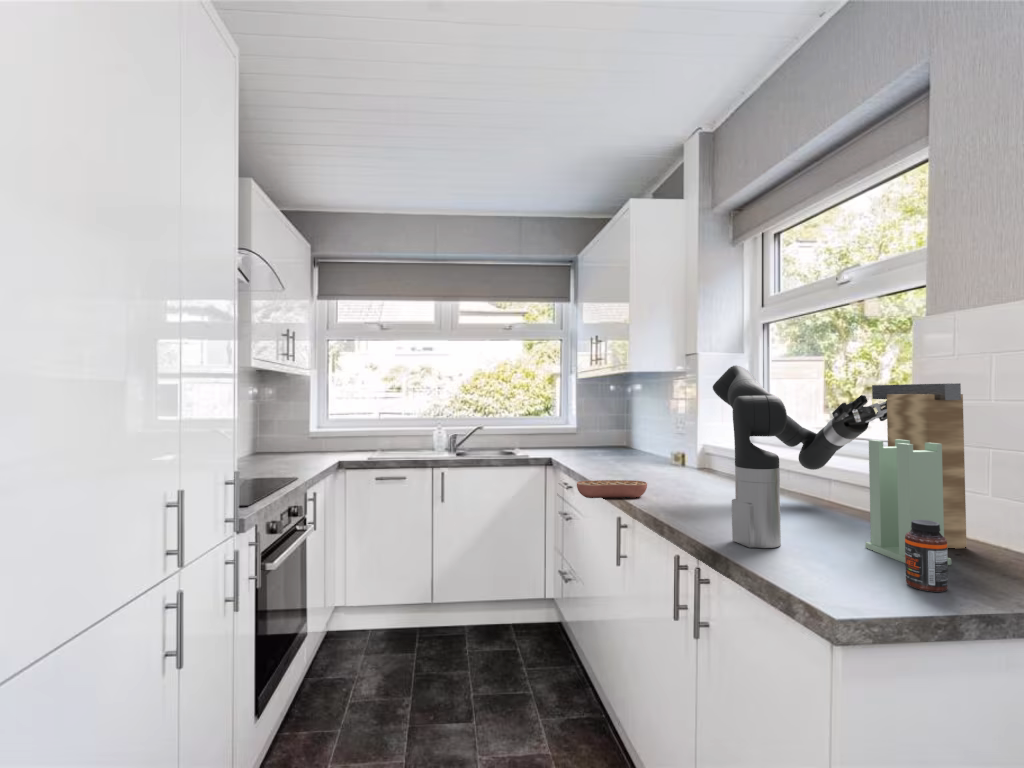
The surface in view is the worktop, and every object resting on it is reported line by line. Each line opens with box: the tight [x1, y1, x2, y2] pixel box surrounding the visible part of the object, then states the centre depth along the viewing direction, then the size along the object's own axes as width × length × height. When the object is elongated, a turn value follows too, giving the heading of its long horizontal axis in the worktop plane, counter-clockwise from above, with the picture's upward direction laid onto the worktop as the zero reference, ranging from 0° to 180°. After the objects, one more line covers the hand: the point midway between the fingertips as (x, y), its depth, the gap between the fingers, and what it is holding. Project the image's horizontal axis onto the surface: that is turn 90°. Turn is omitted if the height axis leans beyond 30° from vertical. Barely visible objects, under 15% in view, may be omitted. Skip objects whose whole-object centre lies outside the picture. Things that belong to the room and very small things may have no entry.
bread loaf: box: [576, 479, 648, 499], centre depth 183 cm, size 23×10×5 cm, turn 89°
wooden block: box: [886, 393, 968, 550], centre depth 126 cm, size 12×8×33 cm, turn 4°
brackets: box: [864, 439, 952, 566], centre depth 115 cm, size 13×8×24 cm, turn 4°
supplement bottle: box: [904, 520, 949, 593], centre depth 97 cm, size 6×6×11 cm
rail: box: [871, 382, 962, 400], centre depth 129 cm, size 22×4×4 cm, turn 3°
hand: (881, 397), depth 139 cm, fingers open, 8 cm apart
